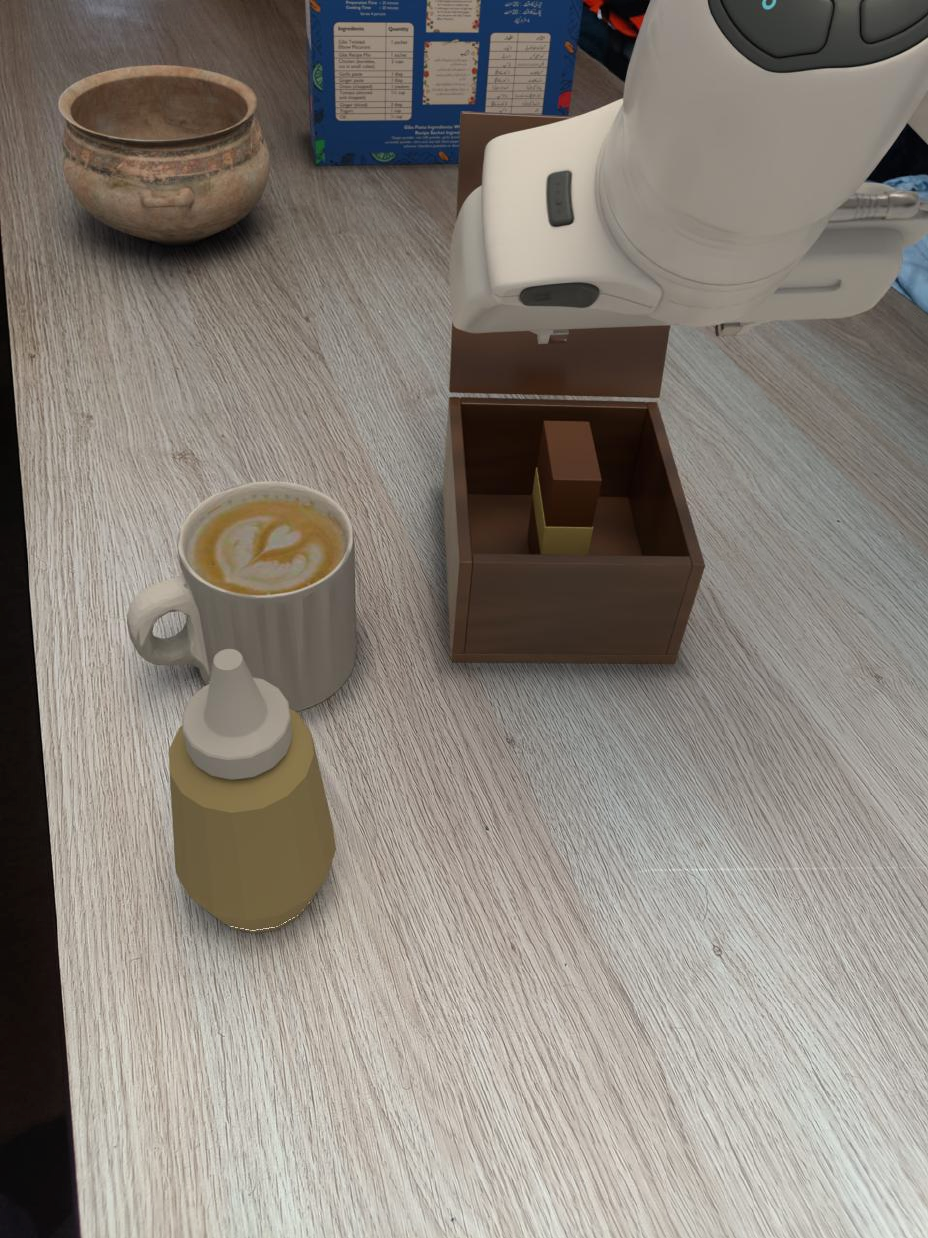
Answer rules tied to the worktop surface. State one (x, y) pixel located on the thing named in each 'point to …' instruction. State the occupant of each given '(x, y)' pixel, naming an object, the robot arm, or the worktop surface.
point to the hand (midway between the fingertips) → (639, 325)
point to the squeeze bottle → (248, 802)
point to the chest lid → (516, 358)
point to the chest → (565, 584)
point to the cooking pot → (164, 151)
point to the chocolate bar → (564, 490)
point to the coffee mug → (260, 590)
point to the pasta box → (430, 72)
